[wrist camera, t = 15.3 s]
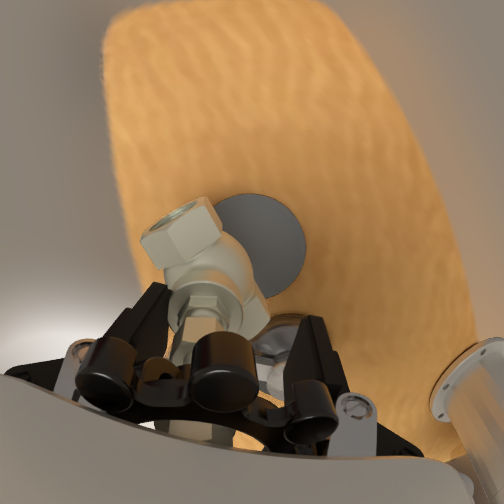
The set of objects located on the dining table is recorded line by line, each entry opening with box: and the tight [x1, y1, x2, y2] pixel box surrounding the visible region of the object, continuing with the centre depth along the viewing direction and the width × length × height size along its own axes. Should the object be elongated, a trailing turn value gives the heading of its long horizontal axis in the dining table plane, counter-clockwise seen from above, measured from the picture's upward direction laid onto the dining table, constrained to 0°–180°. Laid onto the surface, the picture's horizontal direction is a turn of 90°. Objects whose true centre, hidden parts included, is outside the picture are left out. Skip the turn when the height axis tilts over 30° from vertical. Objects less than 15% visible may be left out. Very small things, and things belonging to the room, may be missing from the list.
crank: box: [164, 344, 290, 401], centre depth 19 cm, size 12×4×6 cm, turn 76°
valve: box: [71, 197, 339, 456], centre depth 11 cm, size 7×7×12 cm
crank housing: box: [169, 314, 307, 395], centre depth 21 cm, size 12×7×7 cm, turn 78°
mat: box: [213, 194, 306, 299], centre depth 22 cm, size 8×8×1 cm
